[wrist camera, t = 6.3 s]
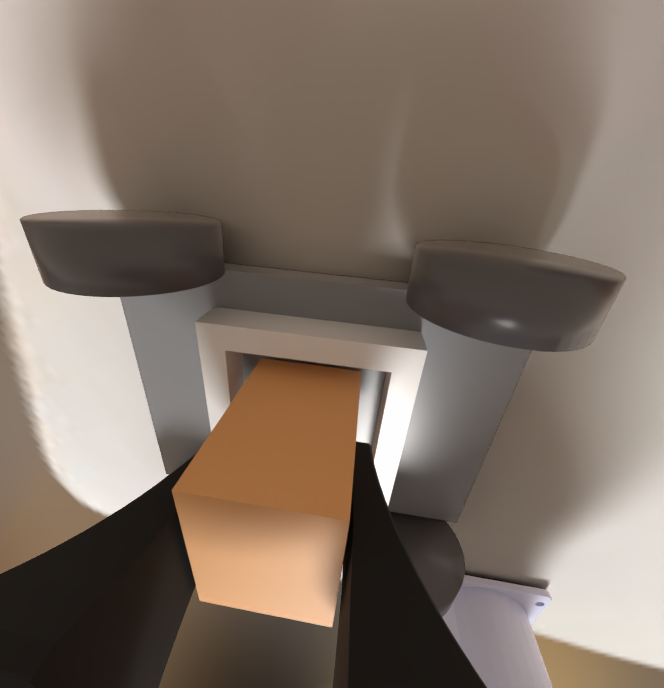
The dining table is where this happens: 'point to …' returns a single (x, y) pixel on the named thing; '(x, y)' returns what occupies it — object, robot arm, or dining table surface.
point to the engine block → (274, 493)
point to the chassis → (336, 345)
